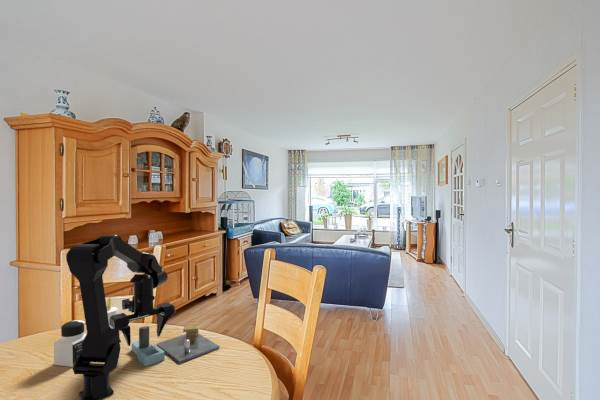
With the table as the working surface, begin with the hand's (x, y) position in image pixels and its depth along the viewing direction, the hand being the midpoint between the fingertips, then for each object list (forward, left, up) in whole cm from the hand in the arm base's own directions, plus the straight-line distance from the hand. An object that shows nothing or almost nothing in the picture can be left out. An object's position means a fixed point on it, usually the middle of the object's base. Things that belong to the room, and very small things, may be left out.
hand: (144, 340), depth 106 cm
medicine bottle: (+12, +17, -4) cm, 21 cm away
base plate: (-6, -12, -4) cm, 14 cm away
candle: (+21, +5, -4) cm, 22 cm away
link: (-1, 0, -4) cm, 4 cm away
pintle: (-10, -10, -4) cm, 15 cm away
